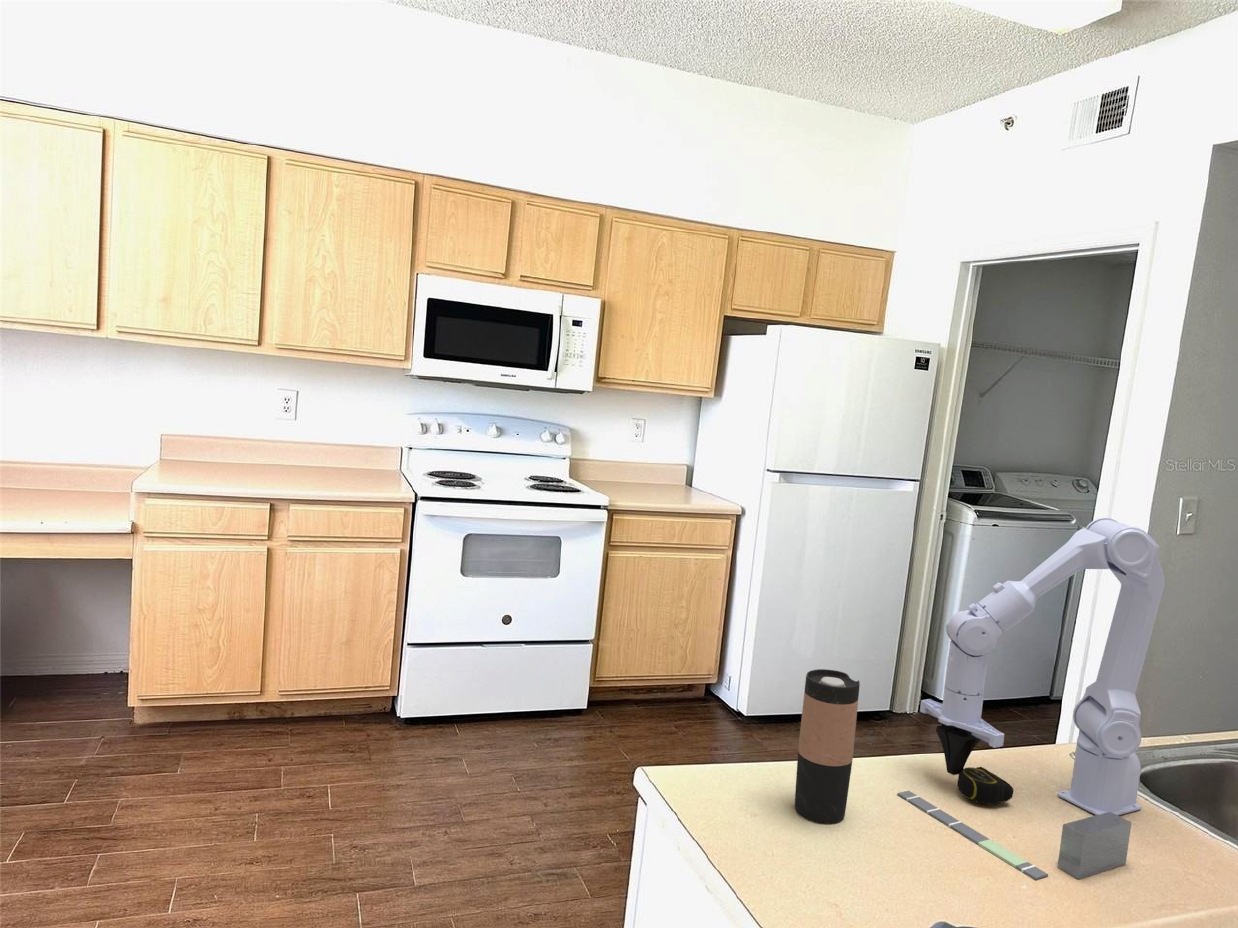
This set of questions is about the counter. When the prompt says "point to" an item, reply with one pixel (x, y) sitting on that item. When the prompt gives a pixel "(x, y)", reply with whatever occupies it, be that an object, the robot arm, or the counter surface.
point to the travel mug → (826, 745)
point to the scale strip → (975, 836)
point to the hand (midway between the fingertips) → (954, 772)
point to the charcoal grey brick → (1094, 845)
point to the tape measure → (983, 786)
